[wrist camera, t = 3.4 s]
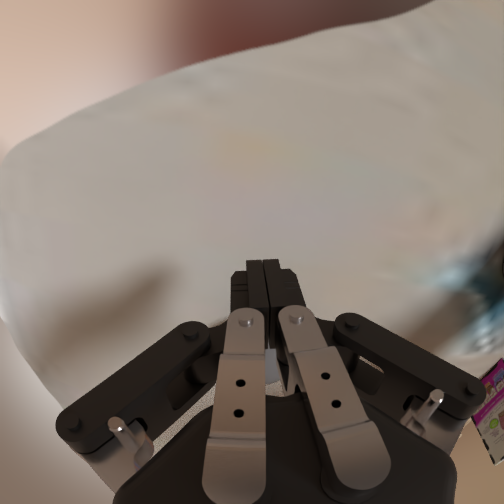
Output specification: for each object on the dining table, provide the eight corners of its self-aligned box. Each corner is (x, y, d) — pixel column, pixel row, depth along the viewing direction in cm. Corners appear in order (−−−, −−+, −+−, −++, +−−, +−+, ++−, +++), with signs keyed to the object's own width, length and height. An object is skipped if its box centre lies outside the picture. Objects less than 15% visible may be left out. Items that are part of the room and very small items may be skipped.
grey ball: (293, 301, 24) (304, 350, 19) (290, 347, 27) (298, 394, 22) (225, 305, 24) (222, 355, 19) (230, 350, 27) (230, 399, 22)
